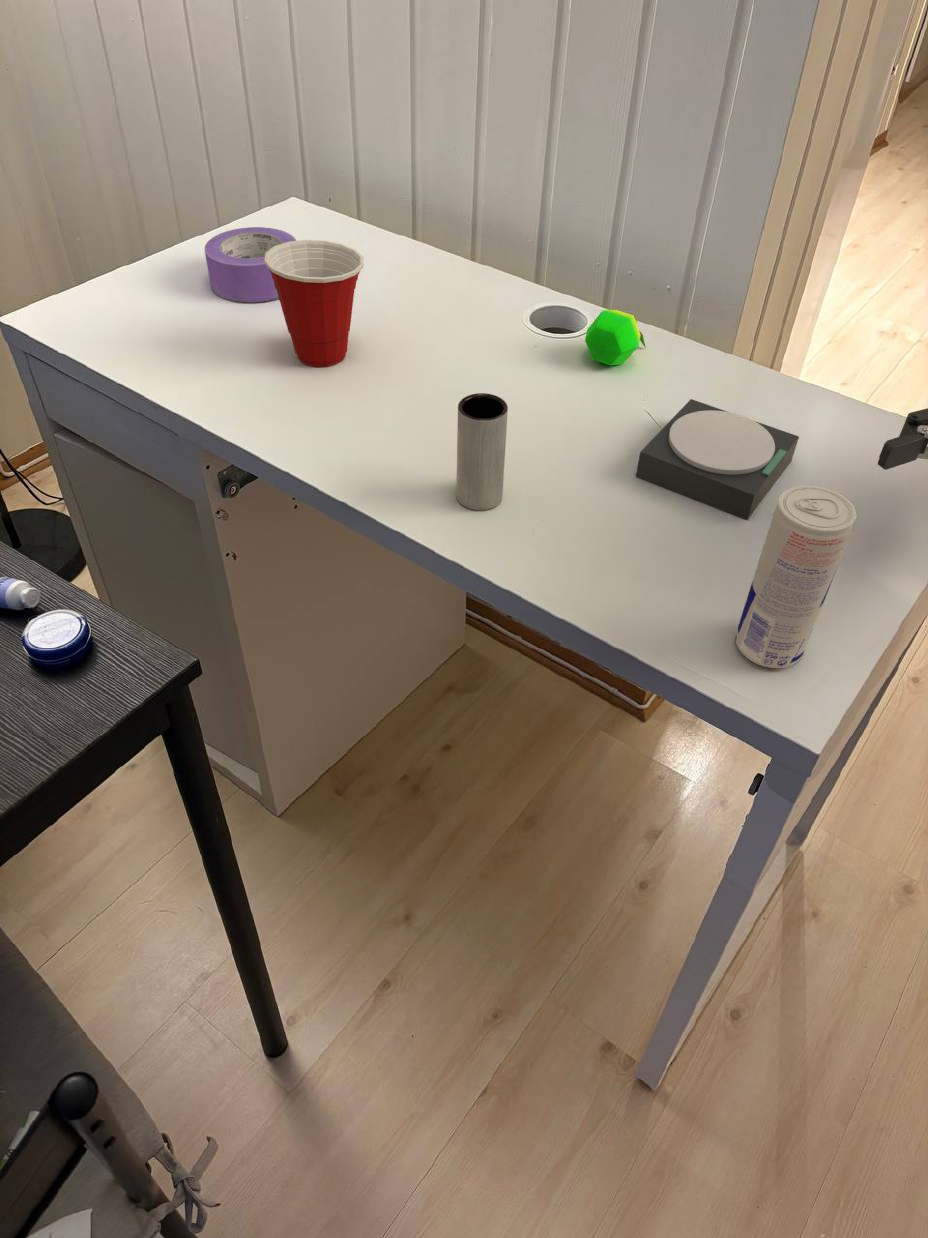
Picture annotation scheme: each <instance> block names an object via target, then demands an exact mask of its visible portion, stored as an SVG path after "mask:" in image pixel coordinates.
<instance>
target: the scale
mask: <svg viewBox="0 0 928 1238" xmlns="http://www.w3.org/2000/svg"><path fill="white" fill-rule="evenodd" d="M799 439H800V436H799V435H796V434H793V433H791V432H787V431H785V430H781V429H779V428H776V427H773V426H770V425H767V424H764V423H763V422H759V421H756V420H754V419H751V418H749V417H747V416H744V415H741V414H738V413H735V412H730V411H727V410H724V409H721V408H718V407H715V406H713V405H710V404H707V403H704V402H702V401H698V400H696V399H693V398H691V399H689V400H688V401H687V402H686V403H685V405H684V406H683V407H681V409H679V411H678V412H676V414H675V415H674V416H673V417H672V418H671V419H670V420H669V421H668V422H667V423H666V424H665V425H664V426H663V428H662V429H660V431H659V432H657V434H656V435H654V437H653V438H652V439H651V440H650V441H649V442H648V443H647V444H646V445H645V446H644V447H643V449H642V450H640V452H639V455H638V461H637V467H636V473H635V477H637V478H639V479H640V480H641V479H642V480H644V481H647V482H649V483H652V484H655V485H656V486H659V487H662V488H664V489H667V490H670V491H672V492H675V493H677V494H680V495H682V496H685V497H688V498H690V499H693V500H695V501H698V502H701V503H702V504H705V505H708V506H710V507H713V508H716V509H718V510H721V511H723V512H726V513H729V514H732V515H733V516H736V517H739V518H741V519H744V520H746V521H747V520H748V519H749V518H750V517H751V516H752V514H753V513H754V512H755V510H756V509H757V508H758V506H759V505H760V504H761V502H762V501H763V499H764V498H765V497H766V496H767V494H768V493H769V491H770V490H771V489H772V488H773V486H774V485H775V483H776V482H777V481H778V480H779V478H781V476H782V474H783V473H784V472H785V470H786V469H787V468H788V466H789V465H790V463H791V462H792V461H793V459H794V454H795V451H796V448H797V445H798V442H799Z"/></svg>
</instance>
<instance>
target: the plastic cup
mask: <svg viewBox="0 0 928 1238" xmlns="http://www.w3.org/2000/svg"><path fill="white" fill-rule="evenodd" d="M264 261H265V264H266V266H267V267H268V268H269V270H270V272H271V275H272V279H273V280H274V285H275V288H276V289H277V293H278V296H279V298H278V300H279V303H280V306H281V310H282V315H283V317H284V321H285V324H286V327H287V331H288V334H289V336H290V338H291V343H292V346H293V350H294V352H295V355H296V357H297V359H298V360H299V361H300V363H302V364H304V365H306V366H308V367H309V366H310V367H315V368H326V367H327V368H328V367H331V366H335V365H337V364H339V363H341V362H342V361H344V359H345V358H346V355H347V352H348V345H349V335H350V330H351V325H352V324H351V323H352V315H353V305H354V299H355V298H354V297H355V291H356V287H357V281H358V279H359V275H360V272H361V271H362V270H363V269H364V266H365V261H364V256H363V255H362V254H361V253H360V252H359V251H358V250H357V249H354V248H352V247H350V246H348V245H346V244H343V243H339V242H338V243H337V242H333V241H328V240H321V239H320V240H319V239H301V240H296V241H291V242H286V243H283V244H280V245H277V246H274V247H272V248H271V249H270V250H269V251H267V252H266V253H265V260H264Z"/></svg>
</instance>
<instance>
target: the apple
mask: <svg viewBox="0 0 928 1238" xmlns="http://www.w3.org/2000/svg"><path fill="white" fill-rule="evenodd" d="M638 323H639V322H638V320H637V318H636V315H634V314H630V313H627V312H624V311H621V310H617V309H606V310H605V309H603V310H602V311H600V313H599V314H598V315H597V316H596V318H595V319H594V321H592V323H591V324H590V325H589V326H588V328H587V329H586V333H585V339H584V342H585V344H586V347H587V350H588V352H589V355H590V358H591V360H592V361H595V362H599V363H601V364H605V365H607V366H619V365H624V363H625V362H626V361H627V360H628V359H629V358H630V357H631V356H632V354H633V353H634V352H635V351H636V350H637V349H638V348H639V347H640V342H641V344H642V345H643V347H644V348H645V349H646V348H647V347H646V343H645V339H644V335H643V333H642V332H641V330H640V329H639V327H638Z"/></svg>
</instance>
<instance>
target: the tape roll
mask: <svg viewBox="0 0 928 1238" xmlns="http://www.w3.org/2000/svg"><path fill="white" fill-rule="evenodd" d="M291 241H297V240H296V237H294V236H293V235H292V234H290V233H289V232H287V231H284V230H282V229H278V228H274V227H273V228H272V227H264V226H249V227H241V228H234V229H230V230H227V231H223V232H220V233H219V234H216V235H214V236H212V237H211V238H210V239H209V240H208V241H207V242H206V243H205V245H204V257H205V261H206V266H207V267H206V268H207V272H208V279H209V284H210V288H211V290H212V292H213V293H214V294H215V295H216V296H218V297H220V298H222V299H225V300H228V301H233V302H238V303H263V302H269V301H274V300H277V299H278V300H279V296H278V293H277V289H276V288H275V285H274V280H273V279H272V275H271V272H270V270H269V268H268V267H267V266H266V264H265V261H264V260H265V253H266V252H267V251H269V250H270V249H271V248H272V247H274V246H277V245H280V244H283V243H286V242H291Z"/></svg>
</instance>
